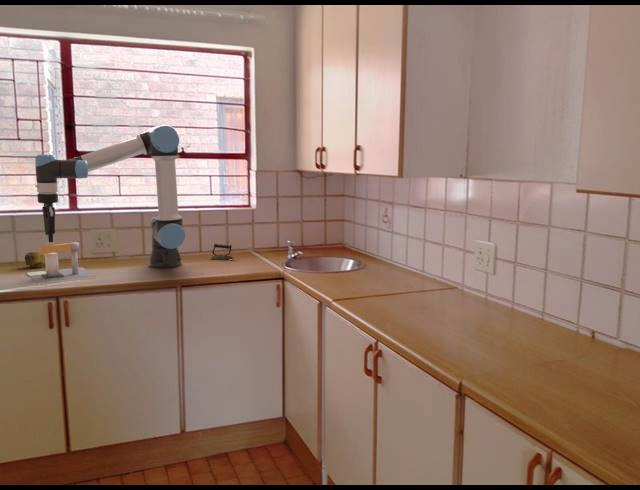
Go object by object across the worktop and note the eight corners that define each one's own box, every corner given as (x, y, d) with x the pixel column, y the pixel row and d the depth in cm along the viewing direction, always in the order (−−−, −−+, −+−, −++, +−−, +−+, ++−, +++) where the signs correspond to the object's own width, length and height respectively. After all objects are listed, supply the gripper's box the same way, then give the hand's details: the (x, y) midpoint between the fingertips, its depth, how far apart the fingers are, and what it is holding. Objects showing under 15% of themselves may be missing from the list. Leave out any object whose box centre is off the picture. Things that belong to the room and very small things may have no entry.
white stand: (82, 269, 253) (81, 245, 252) (95, 278, 237) (94, 252, 235) (26, 275, 240) (24, 250, 238) (36, 285, 223) (34, 258, 221)
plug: (57, 273, 238) (56, 252, 236) (60, 275, 234) (58, 254, 232) (45, 274, 235) (43, 253, 233) (47, 276, 231) (46, 255, 230)
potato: (58, 268, 254) (57, 251, 253) (27, 272, 246) (26, 254, 245) (53, 265, 261) (52, 248, 259) (23, 268, 253) (21, 251, 251)
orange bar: (76, 248, 241) (76, 241, 240) (80, 249, 238) (80, 243, 238) (38, 253, 229) (37, 246, 229) (42, 254, 226) (41, 247, 226)
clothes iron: (213, 258, 286) (217, 240, 285) (233, 265, 284) (238, 246, 284) (208, 260, 279) (213, 240, 278) (230, 266, 277) (235, 247, 277)
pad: (44, 271, 242) (44, 270, 242) (48, 274, 237) (47, 273, 237) (26, 273, 238) (26, 272, 238) (29, 276, 233) (29, 275, 233)
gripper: (34, 191, 231) (38, 247, 235) (40, 194, 221) (44, 253, 225) (54, 191, 235) (57, 246, 240) (60, 194, 225) (64, 251, 230)
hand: (50, 249), depth 233 cm, fingers closed
